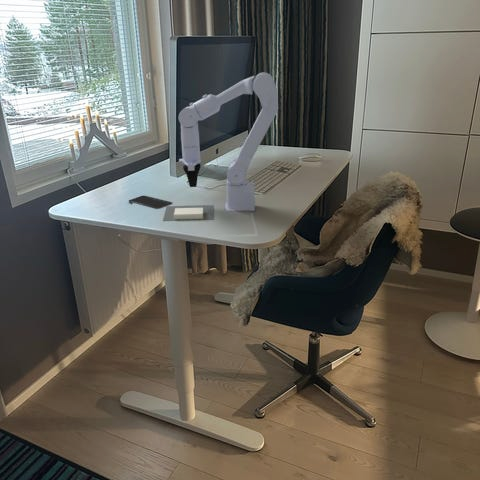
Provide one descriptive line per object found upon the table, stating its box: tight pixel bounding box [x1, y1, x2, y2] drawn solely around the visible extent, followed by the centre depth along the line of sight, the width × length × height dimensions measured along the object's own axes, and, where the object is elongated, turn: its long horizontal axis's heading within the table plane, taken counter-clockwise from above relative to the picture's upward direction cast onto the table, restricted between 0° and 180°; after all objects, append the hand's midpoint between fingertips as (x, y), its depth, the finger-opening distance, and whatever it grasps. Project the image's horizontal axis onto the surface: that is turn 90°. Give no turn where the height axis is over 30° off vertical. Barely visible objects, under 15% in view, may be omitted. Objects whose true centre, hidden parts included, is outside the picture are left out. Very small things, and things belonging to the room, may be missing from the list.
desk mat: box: [162, 204, 215, 222], centre depth 148 cm, size 16×14×1 cm
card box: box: [174, 208, 203, 219], centre depth 145 cm, size 9×2×6 cm
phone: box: [128, 195, 173, 210], centre depth 159 cm, size 8×1×15 cm
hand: (193, 186), depth 152 cm, fingers closed
